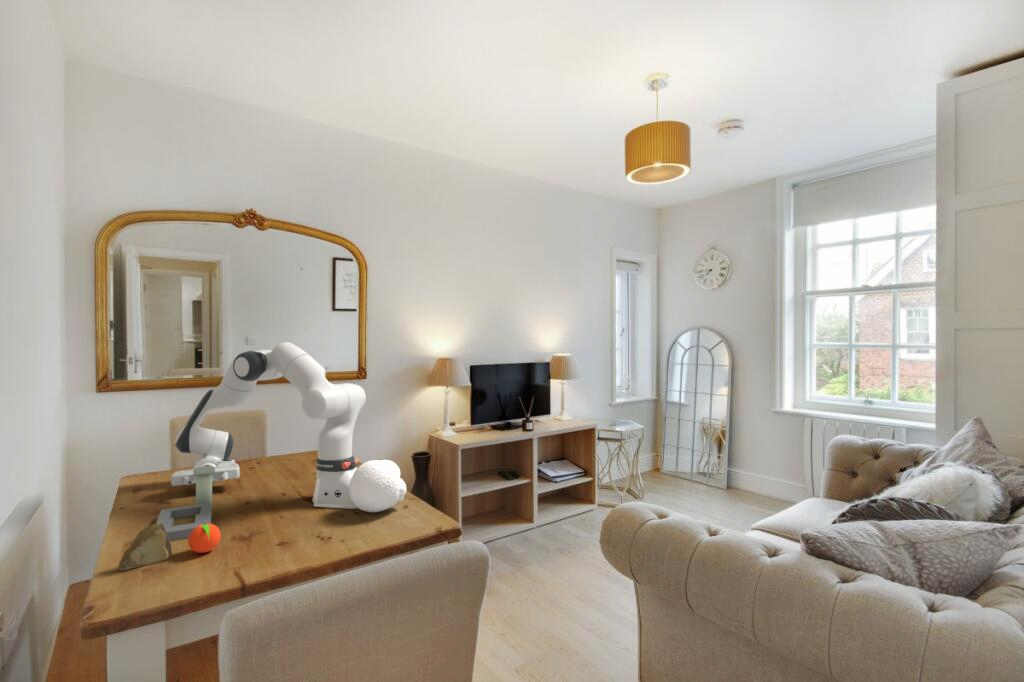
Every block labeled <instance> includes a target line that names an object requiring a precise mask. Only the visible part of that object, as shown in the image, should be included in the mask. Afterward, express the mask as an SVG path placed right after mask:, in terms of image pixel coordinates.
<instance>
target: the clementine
mask: <svg viewBox="0 0 1024 682" xmlns="http://www.w3.org/2000/svg"><path fill="white" fill-rule="evenodd" d="M221 536H222V535H221V531H220V528H219V527H218V526H217V525H214V524H213V523H211V524H209V523H207V524H202V525H199V526H198V527H196V528H195V529H194V530H193V531H192V532H191V534H190V536H189V538H187V539H188V540H187V541H188V547H189V548H190V549H191V551H193V552H195V553H198V554H205V553H208V552H210V551H212V550H213V549H215V548H216V547H217V545H218V544H219V542H220V540H221Z"/></svg>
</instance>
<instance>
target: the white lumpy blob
mask: <svg viewBox="0 0 1024 682" xmlns="http://www.w3.org/2000/svg"><path fill="white" fill-rule="evenodd" d="M349 492H350V496H351V499H352V501H353V503H354V504H355V505H356V506H357V507H358V508H357V509H359V510H360V511H363V512H368V513H380V512H383V511H386V510H389V509H390V508H392V507H394V506H395V505H396V504H398V502H399V503H400V502H402V501H403V500H404V497H405V495H406V493H407V484H406V483H405V481H404V480H403V478H401V469H400V467H399V466H398V465H397V463H395V461H392V460H390V459H382V460H376V459H374V460H373V459H371V460H368V461H366V462H363V463H362V464H360V465H359V466H358V467H357V469H356V471H355V472H354V474H353V475H352V478H351V481H350V484H349Z"/></svg>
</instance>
